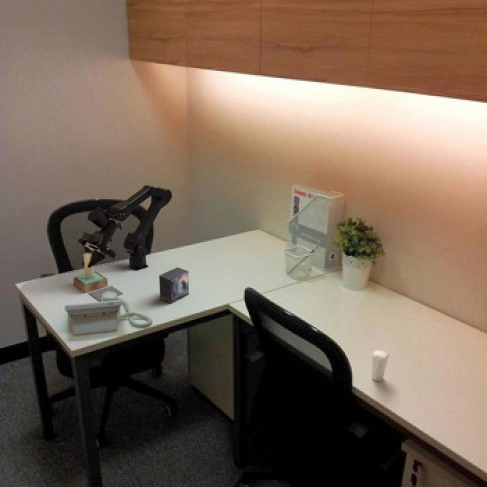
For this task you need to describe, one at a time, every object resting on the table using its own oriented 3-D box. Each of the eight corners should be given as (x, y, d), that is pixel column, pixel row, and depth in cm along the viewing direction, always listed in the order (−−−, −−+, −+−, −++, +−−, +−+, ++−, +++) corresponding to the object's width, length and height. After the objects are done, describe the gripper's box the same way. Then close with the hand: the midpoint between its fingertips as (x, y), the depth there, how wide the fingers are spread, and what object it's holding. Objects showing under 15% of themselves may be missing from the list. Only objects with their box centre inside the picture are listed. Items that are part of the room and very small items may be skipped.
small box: (171, 304, 208) (170, 279, 204) (159, 299, 211) (157, 275, 208) (190, 294, 216) (189, 270, 212) (178, 290, 219) (177, 266, 215)
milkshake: (380, 386, 160) (383, 357, 157) (366, 377, 164) (369, 348, 161) (390, 380, 163) (394, 352, 159) (376, 372, 167) (380, 344, 163)
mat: (111, 286, 222) (111, 285, 222) (123, 294, 215) (123, 293, 215) (89, 293, 216) (89, 292, 215) (100, 301, 209) (100, 300, 209)
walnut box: (96, 278, 229) (95, 271, 228) (107, 286, 222) (107, 278, 221) (73, 285, 223) (72, 277, 222) (85, 293, 216) (84, 285, 215)
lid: (94, 274, 227) (92, 248, 223) (103, 280, 221) (101, 254, 217) (76, 279, 222) (73, 253, 218) (85, 286, 216) (82, 259, 212)
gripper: (79, 218, 222) (58, 251, 218) (107, 228, 211) (86, 263, 207) (96, 231, 230) (77, 263, 226) (125, 242, 219) (105, 275, 215)
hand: (85, 266), depth 218 cm, fingers closed on lid, 3 cm apart
